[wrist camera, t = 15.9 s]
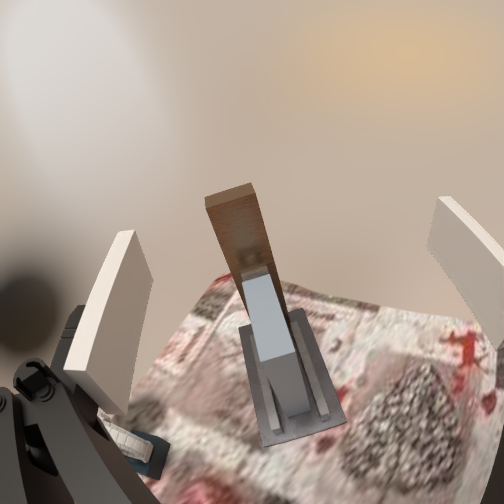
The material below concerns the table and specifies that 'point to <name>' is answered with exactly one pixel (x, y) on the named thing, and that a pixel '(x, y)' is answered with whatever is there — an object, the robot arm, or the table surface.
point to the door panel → (275, 345)
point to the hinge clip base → (303, 418)
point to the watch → (139, 448)
